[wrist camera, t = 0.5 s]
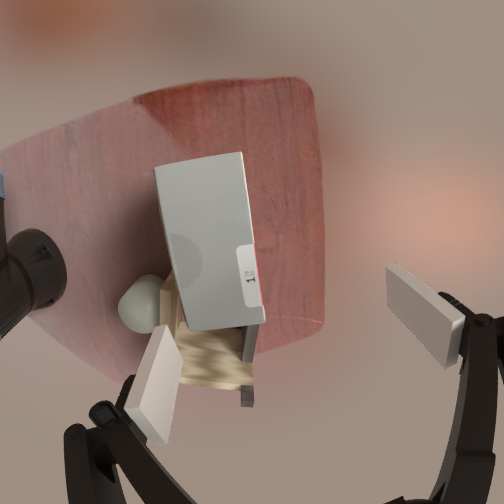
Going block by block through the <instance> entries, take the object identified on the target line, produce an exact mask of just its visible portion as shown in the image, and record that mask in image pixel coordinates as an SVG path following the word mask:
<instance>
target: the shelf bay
mask: <svg viewBox="0 0 504 504" xmlns="http://www.w3.org/2000/svg"><path fill="white" fill-rule="evenodd" d="M166 324H167V326H168V328H169V330H170V333H171V335H172V337H173V339H174V341H175V344H176V346H177V348H178V350H179V352H180V354H181V356H182V358H183V365H182V370H181V375H180V380H179V383H182V384H188V385H195V386H202V387H210V388H218V389H227V390H239V391H241V407H253V404H254V390H253V373H252V372H253V371H252V361H253V355H254V350H255V345H256V340H257V334H258V329H259V324H254V325H246V326H242V329H234V328H222V329H214V330H206V331H198V332H190V330H189V329H188V328H187V325H186V322H182V321H181V304H180V300H179V296H178V292H177V288H176V284H175V279H174V275H173V271H171V273H170V274H169V276H168V278H167V279H166V281H165V283H164V284H163V286H162V288H161V289H160V326H161V325H166Z"/></svg>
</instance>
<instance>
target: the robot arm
mask: <svg viewBox="0 0 504 504" xmlns="http://www.w3.org/2000/svg"><path fill="white" fill-rule="evenodd" d="M4 200H5V195H4V189H3V174H2V172H1V170H0V341H1V339H2V338H3V337H4V336H5V335H6V334H7V333H8V332H9V331H10V330H11V329H12V328H13V327H14V326H15V325H16V324H17V323H18V322H20V321H21V320H22V319H23V318H24V317H25V316H26V315H27V314H28V313H29V312H31V311H35V310H38V309H42V308H46V307H49V306H51V305H53V304H54V303H55V302H56V301H57V300H58V299H60V298H61V296H62V295H63V293H64V291H65V288H66V282H67V273H66V267H65V263H64V260H63V257H62V255H61V253H60V251H59V249H58V247H57V246H56V244H55V243H54V242H53V240H52V239H51V238H50V237H49V236H48V235H46V234H45V233H44V232H42V231H40V230H37V229H26V230H23V231H21V232H19V233H17V234H16V235H14V236H13V237H12V238H11V240H10V241H9V242H8V243H7V244H6V233H5V219H4ZM385 268H386V284H387V306H388V307H389V308H390V309H391V310H392V311H393V313H394V314H395V315H396V316H397V317H398V318H399V319H400V320H401V321H402V322H403V323H404V324H405V325H406V326H407V328H408V329H409V330H410V331H411V332H412V333H413V334H414V335H415V336H416V337H417V339H418V340H419V341H420V342H421V343H422V344H423V345H424V346H425V347H426V349H427V350H428V351H429V352H430V353H431V354H432V355H433V357H434V358H435V359H436V360H437V361H438V362H439V363H440V365H442V367H443V368H444V369H446V368H448V367H450V366H452V365H454V364H456V363H457V359H458V355H459V354H460V355H461V356H462V357H463V361H462V365H461V369H460V373H459V374H461V376H460V384H459V391H458V398H457V403H456V409H455V414H454V419H453V424H452V429H451V433H450V437H449V441H448V445H447V449H446V453H445V456H444V460H443V463H442V467H441V470H440V473H439V476H438V479H437V482H436V484H435V487H434V489H433V491H432V493H431V495H430V498H429V500H426V499H414V500H406V501H405V500H404V498H403V496H401V497H399V498H397V499H395V500H392V501H390V502H387V503H385V504H486V501H487V498H488V494H489V490H490V485H491V481H492V476H493V471H494V466H495V458H496V457H495V454H494V453H493V452H492V449H493V441H494V433H495V424H496V412H497V395H498V367H499V370H500V374H501V377H502V380H503V384H504V316H503V317H499V318H495V319H494V318H493V317H492V316H490V315H488V314H483V313H481V314H475V313H473V312H472V311H471V310H470V309H468V308H467V307H466V306H464V305H463V304H462V303H460V302H459V301H458V300H456V299H455V298H454V297H452V296H451V295H450V294H447V293H444V292H439V293H436V292H434V291H433V290H432V289H430V288H429V287H428V286H427V285H425V284H424V283H423V282H421V281H420V280H419V279H417V278H416V277H415V276H413V275H412V274H410V273H409V272H408V271H406V270H405V269H403V268H402V267H401V266H399V265H398V264H396V263H395V264H392V265H389V266H386V267H385ZM182 365H183V358H182V356H181V354H180V352H179V350H178V348H177V346H176V344H175V341H174V339H173V337H172V335H171V333H170V330H169V328H168V326H167V324H166V325H161V326H156V327H155V328H154V331H153V333H152V336H151V338H150V341H149V343H148V345H147V348H146V350H145V353H144V356H143V358H142V361H141V363H140V366H139V368H138V371H137V374H135V375H130V376H129V377H128V378H127V380H126V381H125V382H124V384H123V387H122V390H121V392H120V396H119V397H118V399H117V402H116V404H115V406H114V405H113V403H111V402H110V401H106V400H105V401H101V402H98V403H96V404H95V405H94V406H93V407H92V408H91V409H90V411H89V418H90V419H91V420H92V421H93V423H94V424H95V425H96V426H97V427H95V428H91V429H86V428H85V427H84V426H83V425H82V424H78V423H77V424H73V425H71V426H70V427H69V428H68V429H67V430H66V431H65V433H64V460H65V475H66V485H67V494H68V501H69V504H126V501H125V497H124V494H123V490H122V487H121V483H120V480H119V476H118V473H117V468H116V464H119V466H120V467H121V469H122V471H123V472H124V474H125V475H126V477H127V478H128V480H129V482H130V483H131V485H132V486H133V487H134V489H135V490H136V492H137V493H138V495H139V496H140V497H141V499H142V500H143V502H144V503H145V504H197V503H196V502H195V501H194V500H193V499H192V498H191V497H190V496H189V495H188V494H187V493H186V492H185V490H184V489H183V488H182V487H181V486H180V485H179V484H178V483H177V482H176V481H175V480H174V478H173V477H172V476H171V475H170V474H169V473H168V472H167V470H166V469H165V468H164V467H163V466H162V465H161V463H160V462H159V461H158V460H157V458H156V457H155V456H154V455H153V454H152V452H151V451H150V450H149V448H147V446H146V441H147V439H148V440H149V441H150V443H151V444H152V445H154V446H156V445H168V439H169V433H170V428H171V422H172V416H173V411H174V405H175V400H176V395H177V390H178V384H179V380H180V375H181V370H182Z"/></svg>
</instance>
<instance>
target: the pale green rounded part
mask: <svg viewBox="0 0 504 504" xmlns="http://www.w3.org/2000/svg"><path fill="white" fill-rule="evenodd" d="M164 283H165V280H164V279H162V278H161V277H159V276H157V275H153V274H146V275H142V276H140V277H139V278H138V279H137V280H136V281H135V282H134V283H133V284H132V286H131V287H130V288H129V289H128V290H127V292H126V293H125V294H124V295H123V297H122V298H121V299H120V301H119V304H118V313H119V316H120V318H121V320H122V322H123V323H124V324H125V325H126V326H127V327H128V328H129V329H131V330H132V331H134V332H137V333H142V334H148V333H152V332H153V331H154V328H155V327H156V326H160V289H161V288H162V286H163V284H164Z"/></svg>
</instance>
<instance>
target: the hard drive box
mask: <svg viewBox="0 0 504 504" xmlns="http://www.w3.org/2000/svg"><path fill="white" fill-rule="evenodd" d="M153 173H154V181H155V187H156V193H157V198H158V204H159V210H160V215H161V220H162V225H163V230H164V234H165V239H166V243H167V248H168V253H169V257H170V262H171V267H172V271H173V275H174V279H175V284H176V288H177V292H178V296H179V300H180V304H181V308H182V311H183V315H184V318H185V322H186V325H187V328H188V329H189V330H190V332H198V331H206V330H214V329H222V328H231V327H239V326H246V325H254V324H260V323H265V322H266V320H265V312H264V304H263V297H262V290H261V283H260V276H259V270H258V263H257V256H256V250H255V243H254V236H253V229H252V221H251V214H250V206H249V199H248V192H247V185H246V178H245V171H244V164H243V157H242V152H235V153H228V154H222V155H215V156H209V157H203V158H198V159H192V160H186V161H181V162H175V163H170V164H165V165H161V166H157V167H154V169H153Z"/></svg>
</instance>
